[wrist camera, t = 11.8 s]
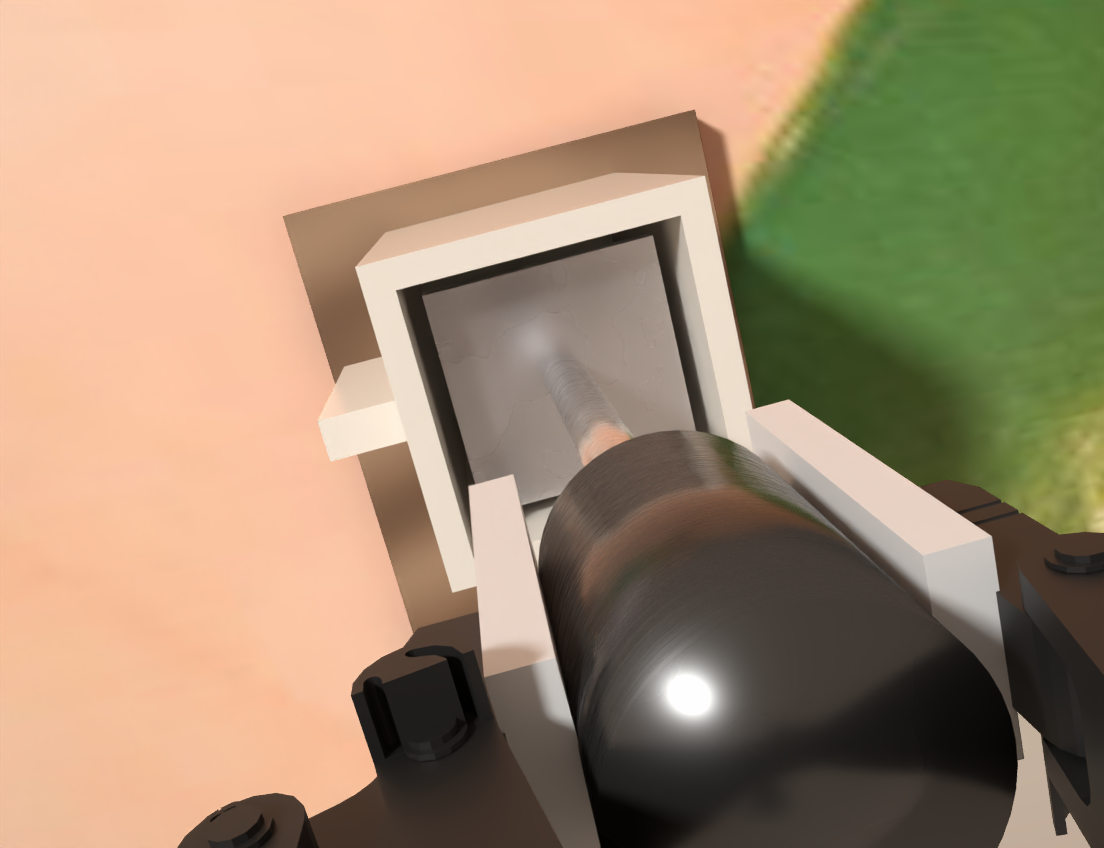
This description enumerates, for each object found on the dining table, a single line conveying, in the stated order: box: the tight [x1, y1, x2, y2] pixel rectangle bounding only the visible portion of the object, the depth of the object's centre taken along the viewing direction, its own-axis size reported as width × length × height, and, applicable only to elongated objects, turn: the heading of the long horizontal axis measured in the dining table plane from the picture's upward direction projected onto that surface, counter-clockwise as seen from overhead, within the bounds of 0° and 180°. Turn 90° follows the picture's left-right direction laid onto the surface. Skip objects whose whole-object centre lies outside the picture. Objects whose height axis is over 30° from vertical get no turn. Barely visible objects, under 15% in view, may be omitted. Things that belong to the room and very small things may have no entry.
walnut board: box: [283, 110, 756, 633], centre depth 43 cm, size 25×16×2 cm, turn 14°
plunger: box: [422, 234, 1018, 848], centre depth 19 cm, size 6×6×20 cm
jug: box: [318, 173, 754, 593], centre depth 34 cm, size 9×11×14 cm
